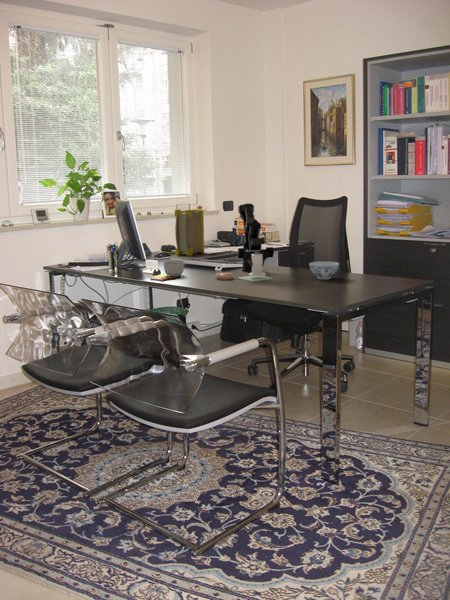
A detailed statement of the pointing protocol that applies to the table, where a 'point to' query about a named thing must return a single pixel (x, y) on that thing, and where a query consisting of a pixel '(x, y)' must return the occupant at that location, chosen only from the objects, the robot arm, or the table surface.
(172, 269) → the teacup
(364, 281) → the table surface
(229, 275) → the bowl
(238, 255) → the robot arm
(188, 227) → the decorative book
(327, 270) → the chinaware
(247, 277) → the mat
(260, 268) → the cover
